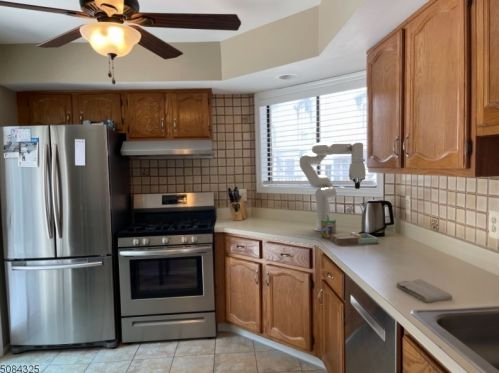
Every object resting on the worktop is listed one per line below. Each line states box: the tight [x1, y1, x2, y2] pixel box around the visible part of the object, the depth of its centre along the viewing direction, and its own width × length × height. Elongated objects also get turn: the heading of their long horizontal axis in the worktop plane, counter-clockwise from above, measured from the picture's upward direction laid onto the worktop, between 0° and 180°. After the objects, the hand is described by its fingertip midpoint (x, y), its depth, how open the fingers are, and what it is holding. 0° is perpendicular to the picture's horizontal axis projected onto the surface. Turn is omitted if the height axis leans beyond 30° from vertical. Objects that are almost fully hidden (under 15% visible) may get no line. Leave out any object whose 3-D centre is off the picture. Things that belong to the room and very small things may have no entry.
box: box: [357, 233, 379, 245], centre depth 218 cm, size 15×13×3 cm
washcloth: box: [395, 279, 453, 304], centre depth 132 cm, size 12×18×3 cm, turn 14°
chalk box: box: [321, 215, 337, 239], centre depth 233 cm, size 9×9×15 cm
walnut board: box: [329, 232, 359, 246], centre depth 216 cm, size 15×12×4 cm
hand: (357, 188), depth 231 cm, fingers closed
